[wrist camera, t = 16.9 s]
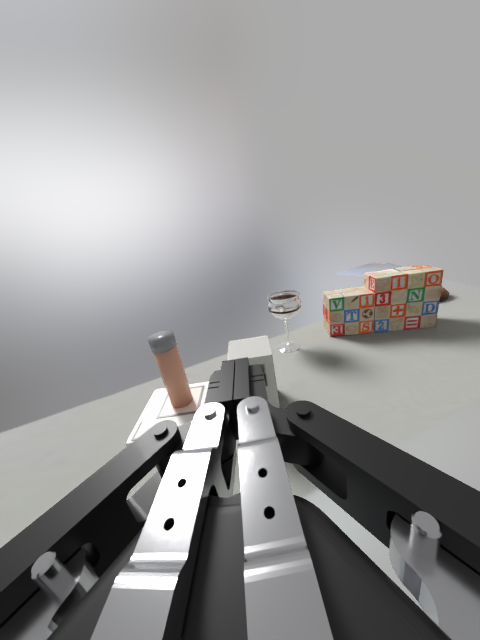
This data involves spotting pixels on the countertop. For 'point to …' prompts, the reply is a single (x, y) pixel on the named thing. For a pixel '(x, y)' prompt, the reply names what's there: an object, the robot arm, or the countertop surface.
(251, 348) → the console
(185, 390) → the terracotta marker
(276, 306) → the wineglass
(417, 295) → the stack of blocks
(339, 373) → the countertop surface
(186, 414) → the white square board
